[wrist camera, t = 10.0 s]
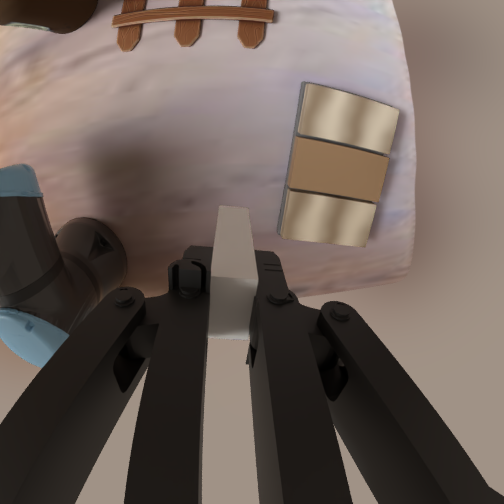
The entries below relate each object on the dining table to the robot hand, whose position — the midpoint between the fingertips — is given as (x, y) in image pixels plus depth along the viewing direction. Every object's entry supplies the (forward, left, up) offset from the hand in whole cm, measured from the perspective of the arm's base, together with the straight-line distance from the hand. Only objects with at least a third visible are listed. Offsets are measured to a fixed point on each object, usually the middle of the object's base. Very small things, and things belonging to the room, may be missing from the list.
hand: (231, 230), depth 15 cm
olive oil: (-29, +25, -27) cm, 47 cm away
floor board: (+15, 0, -26) cm, 30 cm away
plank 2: (+15, -7, -25) cm, 30 cm away
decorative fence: (-9, +23, -27) cm, 37 cm away
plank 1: (+15, +8, -25) cm, 30 cm away
